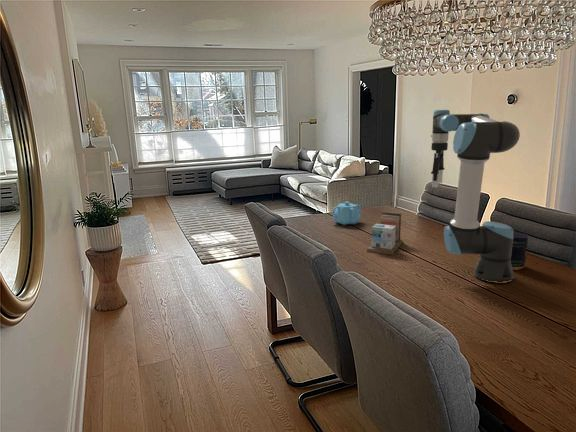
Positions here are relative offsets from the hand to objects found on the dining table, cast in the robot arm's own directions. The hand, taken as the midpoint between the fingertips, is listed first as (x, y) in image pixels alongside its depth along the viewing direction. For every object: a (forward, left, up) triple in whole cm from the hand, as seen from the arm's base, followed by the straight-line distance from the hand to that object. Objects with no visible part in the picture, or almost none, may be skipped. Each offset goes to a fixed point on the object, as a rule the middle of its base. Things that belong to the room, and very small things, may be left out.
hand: (437, 184), depth 223 cm
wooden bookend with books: (-12, +22, -32) cm, 40 cm away
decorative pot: (+25, +56, -32) cm, 69 cm away
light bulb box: (-17, +22, -30) cm, 41 cm away
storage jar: (-18, -37, -32) cm, 52 cm away
